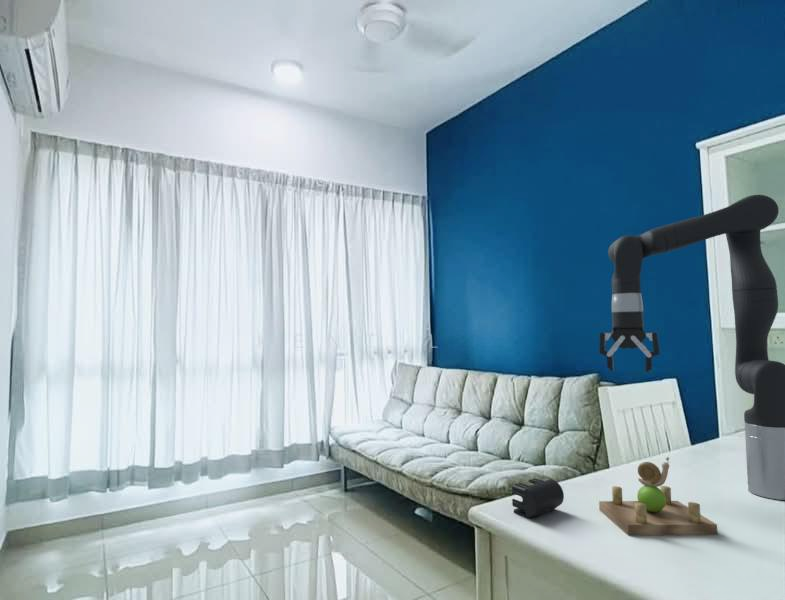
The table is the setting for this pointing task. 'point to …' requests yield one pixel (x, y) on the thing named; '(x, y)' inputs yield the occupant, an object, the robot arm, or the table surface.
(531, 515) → the end cap
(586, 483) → the table surface
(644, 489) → the snail figurine
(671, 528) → the wooden peg board
